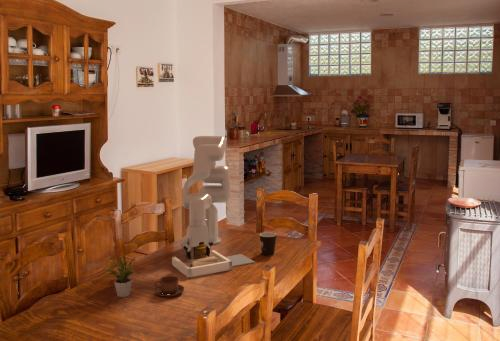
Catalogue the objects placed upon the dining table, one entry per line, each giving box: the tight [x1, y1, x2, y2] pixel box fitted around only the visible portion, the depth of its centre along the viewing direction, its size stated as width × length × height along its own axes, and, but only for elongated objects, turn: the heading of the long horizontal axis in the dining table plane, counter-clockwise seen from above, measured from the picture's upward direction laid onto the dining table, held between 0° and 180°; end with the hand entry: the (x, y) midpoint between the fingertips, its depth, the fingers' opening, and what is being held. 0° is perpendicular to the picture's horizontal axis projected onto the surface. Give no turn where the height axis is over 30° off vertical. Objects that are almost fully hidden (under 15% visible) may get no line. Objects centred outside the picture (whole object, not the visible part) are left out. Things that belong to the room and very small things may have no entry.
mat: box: [225, 253, 256, 268], centre depth 265 cm, size 14×12×1 cm
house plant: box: [104, 254, 140, 298], centre depth 223 cm, size 14×14×16 cm
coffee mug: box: [259, 231, 277, 256], centre depth 278 cm, size 12×9×10 cm
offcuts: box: [190, 256, 220, 267], centre depth 252 cm, size 5×14×5 cm, turn 121°
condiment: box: [186, 242, 207, 268], centre depth 259 cm, size 7×8×12 cm
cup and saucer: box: [154, 275, 185, 298], centre depth 224 cm, size 12×12×6 cm
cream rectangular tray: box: [171, 249, 233, 279], centre depth 256 cm, size 20×22×4 cm
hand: (198, 257), depth 259 cm, fingers open, 9 cm apart
